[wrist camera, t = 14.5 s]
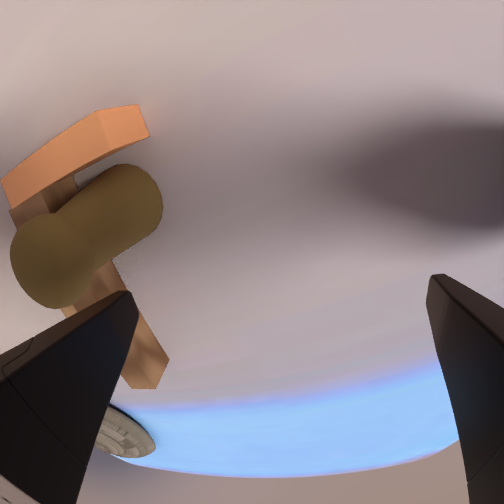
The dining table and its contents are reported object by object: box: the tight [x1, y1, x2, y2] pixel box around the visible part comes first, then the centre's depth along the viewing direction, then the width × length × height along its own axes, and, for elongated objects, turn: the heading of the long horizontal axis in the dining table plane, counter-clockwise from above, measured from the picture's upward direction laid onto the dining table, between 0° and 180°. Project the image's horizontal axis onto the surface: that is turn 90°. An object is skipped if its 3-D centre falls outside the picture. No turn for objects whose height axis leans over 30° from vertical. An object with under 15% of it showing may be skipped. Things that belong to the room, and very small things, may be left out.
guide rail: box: [0, 104, 169, 389], centre depth 24 cm, size 22×17×5 cm
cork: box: [10, 164, 163, 309], centre depth 18 cm, size 6×6×11 cm
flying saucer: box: [94, 406, 155, 458], centre depth 39 cm, size 15×15×6 cm
